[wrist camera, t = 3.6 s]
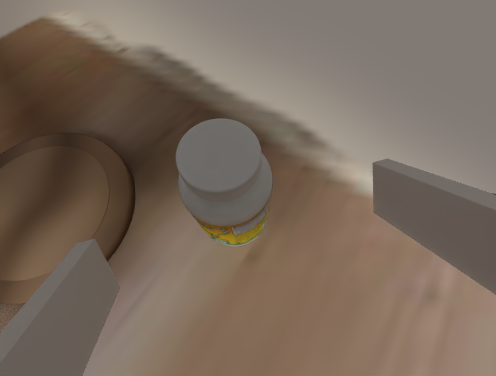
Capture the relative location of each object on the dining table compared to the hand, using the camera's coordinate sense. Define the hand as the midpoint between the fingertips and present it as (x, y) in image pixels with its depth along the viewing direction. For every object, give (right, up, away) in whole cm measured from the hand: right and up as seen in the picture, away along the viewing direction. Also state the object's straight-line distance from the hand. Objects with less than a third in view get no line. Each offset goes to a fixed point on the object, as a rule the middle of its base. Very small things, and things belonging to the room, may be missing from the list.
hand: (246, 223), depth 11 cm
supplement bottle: (-1, -1, +9) cm, 9 cm away
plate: (-16, 0, +9) cm, 19 cm away
